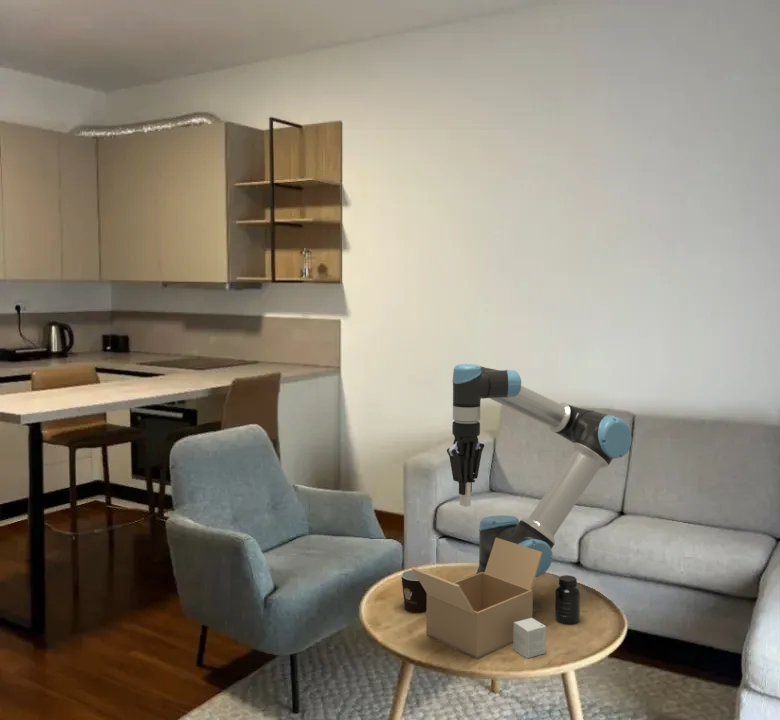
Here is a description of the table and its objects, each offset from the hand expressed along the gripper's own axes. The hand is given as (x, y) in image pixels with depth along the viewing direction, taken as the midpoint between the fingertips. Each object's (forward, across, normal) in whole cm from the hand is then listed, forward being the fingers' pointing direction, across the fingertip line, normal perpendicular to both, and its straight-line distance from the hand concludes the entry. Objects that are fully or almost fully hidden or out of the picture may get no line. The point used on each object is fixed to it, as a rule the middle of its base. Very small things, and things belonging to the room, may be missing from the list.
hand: (465, 505), depth 221 cm
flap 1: (+16, +19, +10) cm, 26 cm away
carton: (+32, +5, +10) cm, 34 cm away
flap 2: (+16, -9, +10) cm, 21 cm away
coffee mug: (+33, +6, -12) cm, 35 cm away
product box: (+33, +2, +25) cm, 41 cm away
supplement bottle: (+33, -21, +20) cm, 44 cm away
